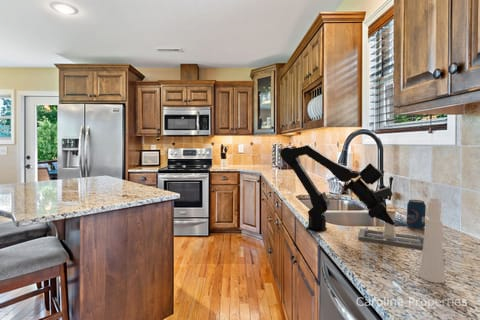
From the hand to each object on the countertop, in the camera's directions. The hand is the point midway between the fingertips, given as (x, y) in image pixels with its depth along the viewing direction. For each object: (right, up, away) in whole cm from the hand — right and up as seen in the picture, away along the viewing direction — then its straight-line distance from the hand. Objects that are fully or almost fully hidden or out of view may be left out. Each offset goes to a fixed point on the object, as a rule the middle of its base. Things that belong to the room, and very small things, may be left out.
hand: (393, 223), depth 104 cm
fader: (-1, -5, +1) cm, 5 cm away
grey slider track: (0, -7, 0) cm, 7 cm away
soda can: (+20, -6, +17) cm, 27 cm away
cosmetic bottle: (-7, -8, -30) cm, 32 cm away
